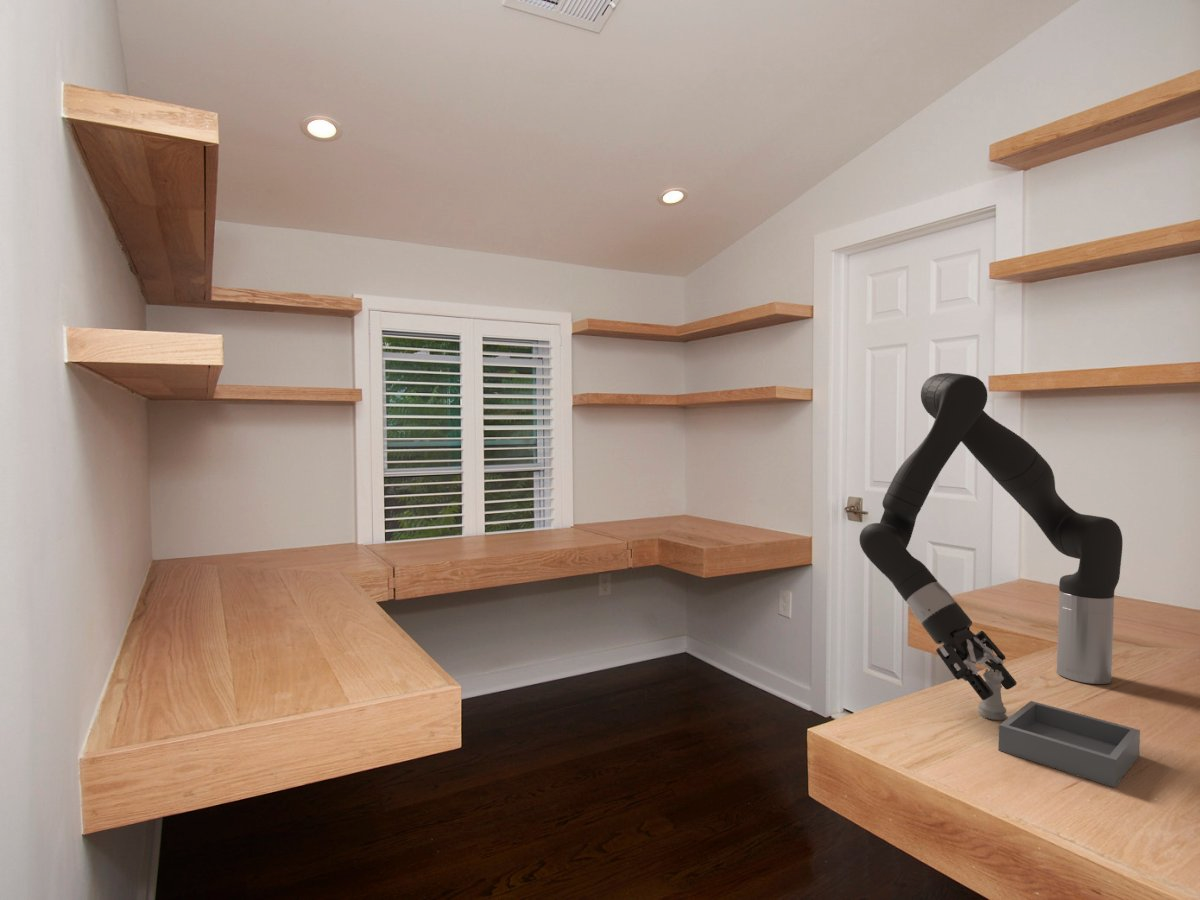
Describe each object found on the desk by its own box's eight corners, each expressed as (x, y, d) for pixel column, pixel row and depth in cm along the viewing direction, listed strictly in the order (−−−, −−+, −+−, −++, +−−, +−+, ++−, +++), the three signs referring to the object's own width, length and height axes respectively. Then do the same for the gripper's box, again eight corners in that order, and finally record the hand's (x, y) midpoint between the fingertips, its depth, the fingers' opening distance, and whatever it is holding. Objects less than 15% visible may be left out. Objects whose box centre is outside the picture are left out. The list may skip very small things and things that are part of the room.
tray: (1030, 723, 118) (1030, 700, 118) (1139, 755, 107) (1140, 730, 107) (998, 750, 108) (999, 725, 108) (1115, 788, 97) (1115, 760, 97)
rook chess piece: (971, 712, 123) (972, 668, 123) (990, 709, 124) (991, 665, 124) (993, 723, 119) (995, 677, 118) (1012, 719, 120) (1014, 674, 120)
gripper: (932, 606, 123) (997, 690, 114) (971, 596, 131) (1036, 673, 122) (903, 629, 127) (964, 711, 118) (943, 617, 136) (1003, 693, 127)
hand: (1000, 692), depth 120 cm, fingers open, 8 cm apart
